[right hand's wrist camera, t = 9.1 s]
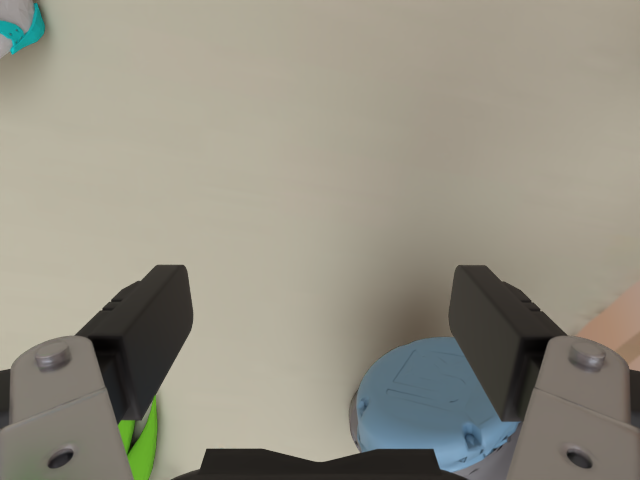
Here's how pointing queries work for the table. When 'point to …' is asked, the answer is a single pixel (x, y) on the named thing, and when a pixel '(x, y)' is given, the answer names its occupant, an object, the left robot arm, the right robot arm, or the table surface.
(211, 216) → the table surface
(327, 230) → the table surface
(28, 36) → the anatomical model
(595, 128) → the table surface
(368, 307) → the table surface
